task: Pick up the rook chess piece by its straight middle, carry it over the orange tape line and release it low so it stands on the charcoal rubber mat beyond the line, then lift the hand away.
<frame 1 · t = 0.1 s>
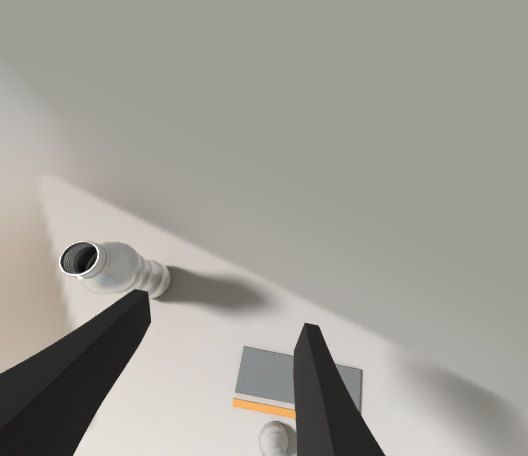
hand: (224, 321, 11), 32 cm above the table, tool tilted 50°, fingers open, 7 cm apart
rook chess piece: (272, 437, 35), on the table
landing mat: (299, 379, 38), on the table
plastic bottle: (155, 281, 41), on the table
throw line: (295, 414, 36), on the table
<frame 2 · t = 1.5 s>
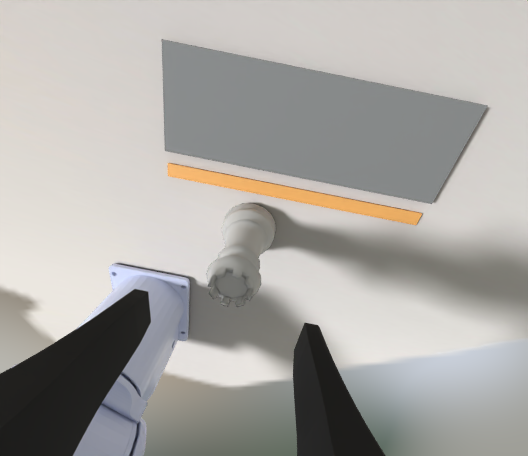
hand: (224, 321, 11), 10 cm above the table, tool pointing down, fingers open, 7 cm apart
rook chess piece: (250, 224, 20), on the table
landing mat: (310, 129, 16), on the table
throw line: (294, 194, 18), on the table
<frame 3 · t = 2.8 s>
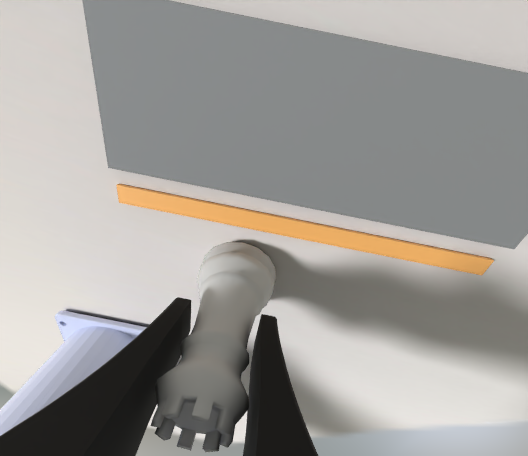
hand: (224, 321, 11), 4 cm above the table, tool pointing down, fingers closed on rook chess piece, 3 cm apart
rook chess piece: (240, 266, 14), on the table, touching gripper
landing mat: (330, 136, 10), on the table
throw line: (302, 229, 12), on the table
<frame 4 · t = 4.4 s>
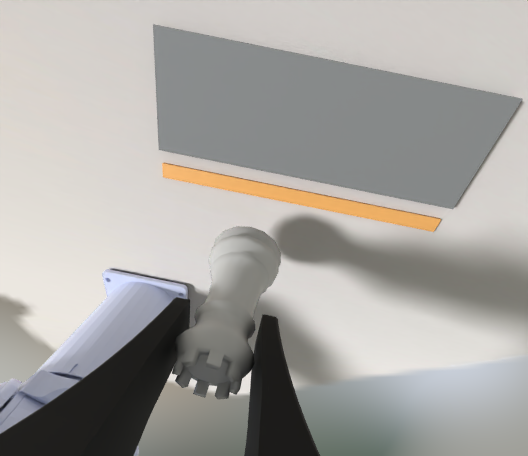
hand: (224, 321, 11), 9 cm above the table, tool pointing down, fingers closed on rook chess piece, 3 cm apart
rook chess piece: (248, 250, 15), point 3 cm above the table, touching gripper
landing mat: (318, 126, 14), on the table
throw line: (299, 197, 16), on the table
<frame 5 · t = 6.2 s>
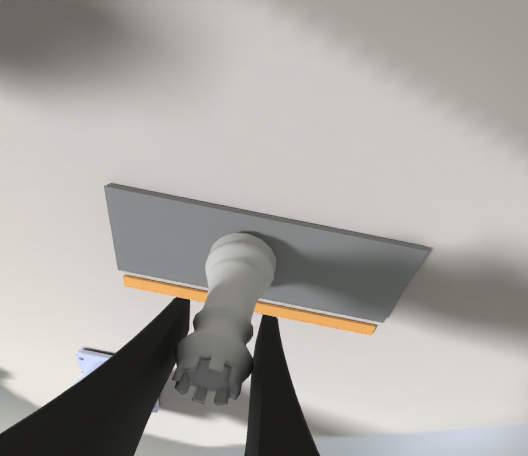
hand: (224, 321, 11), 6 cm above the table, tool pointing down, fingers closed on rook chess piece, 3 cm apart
rook chess piece: (244, 256, 16), resting on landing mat, touching gripper
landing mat: (258, 256, 16), on the table
throw line: (249, 304, 18), on the table
when the fingers open (6 cm above the table, at t = 6.9 s): rook chess piece stays where it is, resting on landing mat.
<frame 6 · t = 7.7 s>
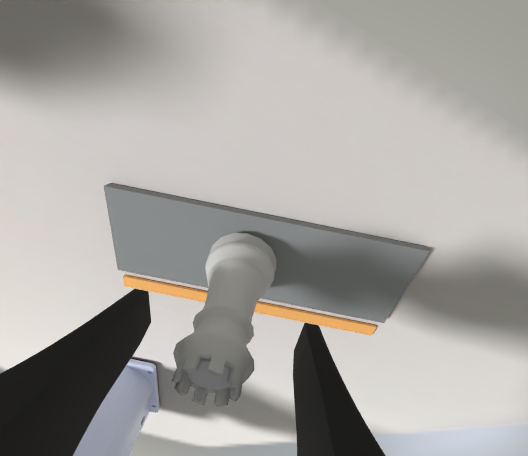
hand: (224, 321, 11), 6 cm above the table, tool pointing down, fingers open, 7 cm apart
rook chess piece: (244, 256, 15), resting on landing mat
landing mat: (259, 256, 16), on the table
throw line: (249, 304, 18), on the table
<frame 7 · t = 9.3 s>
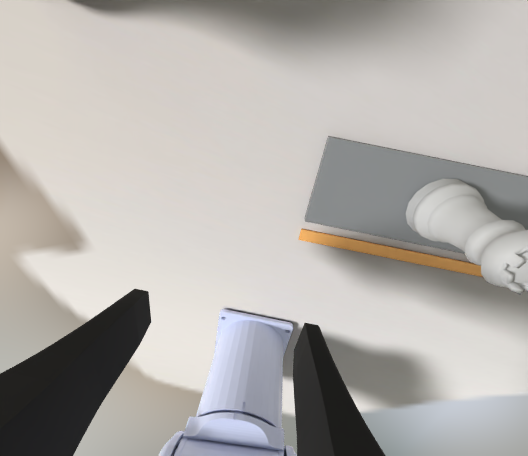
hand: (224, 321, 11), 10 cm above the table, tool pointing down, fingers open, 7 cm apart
rook chess piece: (433, 205, 17), resting on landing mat
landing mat: (442, 206, 18), on the table
throw line: (413, 256, 20), on the table
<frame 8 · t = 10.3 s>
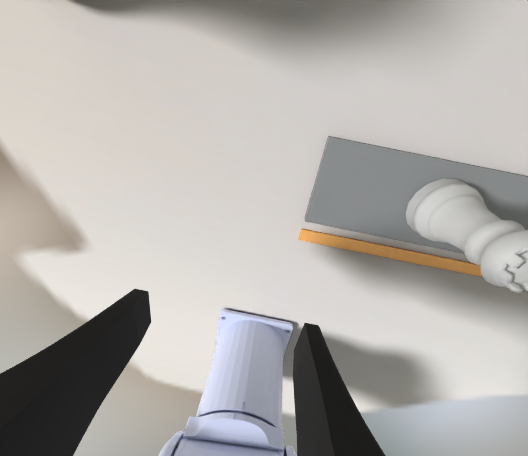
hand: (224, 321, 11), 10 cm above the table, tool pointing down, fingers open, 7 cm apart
rook chess piece: (433, 205, 17), resting on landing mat
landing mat: (442, 206, 18), on the table
throw line: (413, 256, 20), on the table
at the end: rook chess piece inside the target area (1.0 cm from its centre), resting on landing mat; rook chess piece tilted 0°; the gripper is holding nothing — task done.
